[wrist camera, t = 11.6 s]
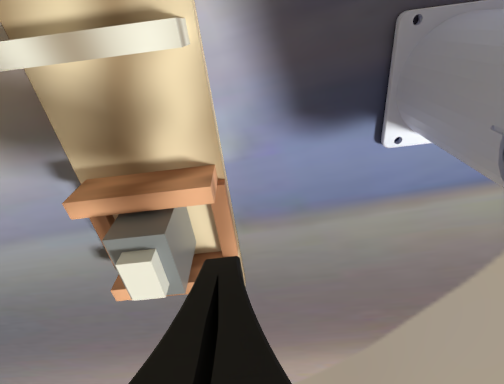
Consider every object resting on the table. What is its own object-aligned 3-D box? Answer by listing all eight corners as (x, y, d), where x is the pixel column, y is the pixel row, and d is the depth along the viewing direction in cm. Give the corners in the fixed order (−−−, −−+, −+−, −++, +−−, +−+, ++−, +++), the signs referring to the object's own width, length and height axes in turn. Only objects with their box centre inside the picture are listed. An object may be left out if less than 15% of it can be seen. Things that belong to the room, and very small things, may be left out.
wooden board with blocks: (130, -348, 10) (70, -544, 6) (245, 279, 26) (245, 317, 23) (-138, -299, 10) (-328, -459, 7) (140, 289, 27) (125, 329, 23)
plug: (181, 188, 20) (160, 246, 15) (196, 242, 23) (182, 306, 17) (131, 194, 20) (93, 253, 15) (152, 246, 23) (125, 312, 18)
